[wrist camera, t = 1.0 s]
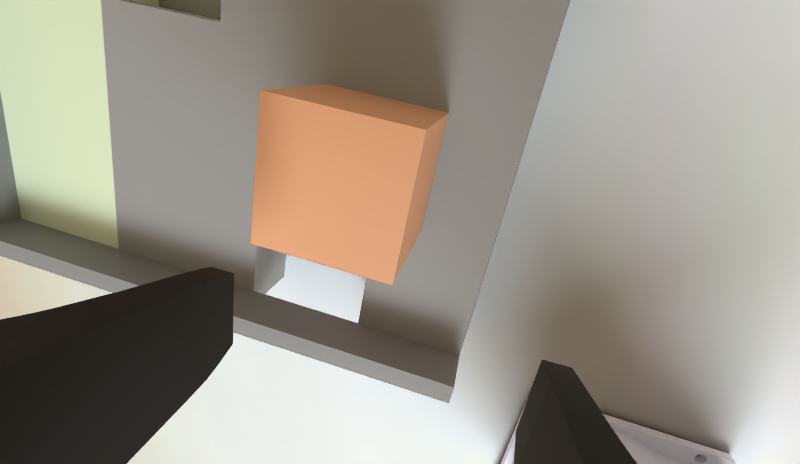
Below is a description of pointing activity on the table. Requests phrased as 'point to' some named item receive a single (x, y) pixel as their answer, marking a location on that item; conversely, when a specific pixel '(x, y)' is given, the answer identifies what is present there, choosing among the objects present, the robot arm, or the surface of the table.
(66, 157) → the board
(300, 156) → the block
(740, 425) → the table surface
